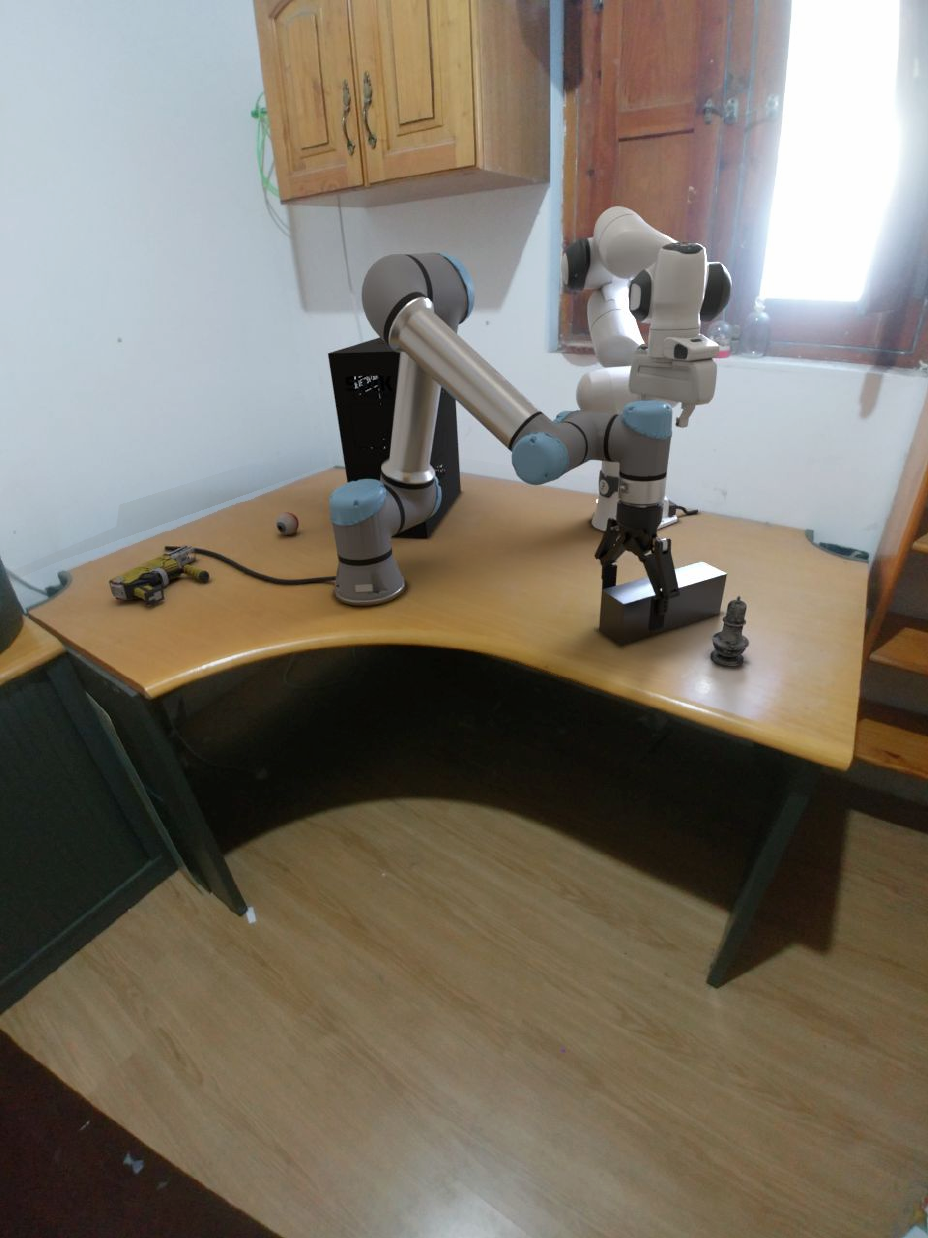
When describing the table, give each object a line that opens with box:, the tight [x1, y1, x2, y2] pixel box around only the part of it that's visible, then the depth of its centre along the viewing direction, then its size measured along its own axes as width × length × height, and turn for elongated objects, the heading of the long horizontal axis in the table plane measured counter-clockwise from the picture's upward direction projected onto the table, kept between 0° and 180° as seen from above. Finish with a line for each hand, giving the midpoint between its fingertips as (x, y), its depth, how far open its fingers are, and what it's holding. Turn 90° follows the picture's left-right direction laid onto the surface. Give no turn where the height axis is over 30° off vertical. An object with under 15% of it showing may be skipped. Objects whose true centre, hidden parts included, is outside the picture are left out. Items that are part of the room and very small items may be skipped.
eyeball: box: [275, 511, 300, 536], centre depth 163 cm, size 6×6×6 cm
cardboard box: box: [327, 336, 462, 539], centre depth 164 cm, size 38×20×45 cm, turn 167°
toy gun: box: [108, 544, 210, 607], centre depth 141 cm, size 5×24×15 cm
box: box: [598, 561, 728, 647], centre depth 113 cm, size 24×6×9 cm, turn 115°
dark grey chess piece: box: [710, 595, 750, 667], centre depth 101 cm, size 6×6×12 cm
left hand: (630, 612), depth 110 cm, fingers open, 13 cm apart
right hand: (664, 422), depth 118 cm, fingers open, 8 cm apart
